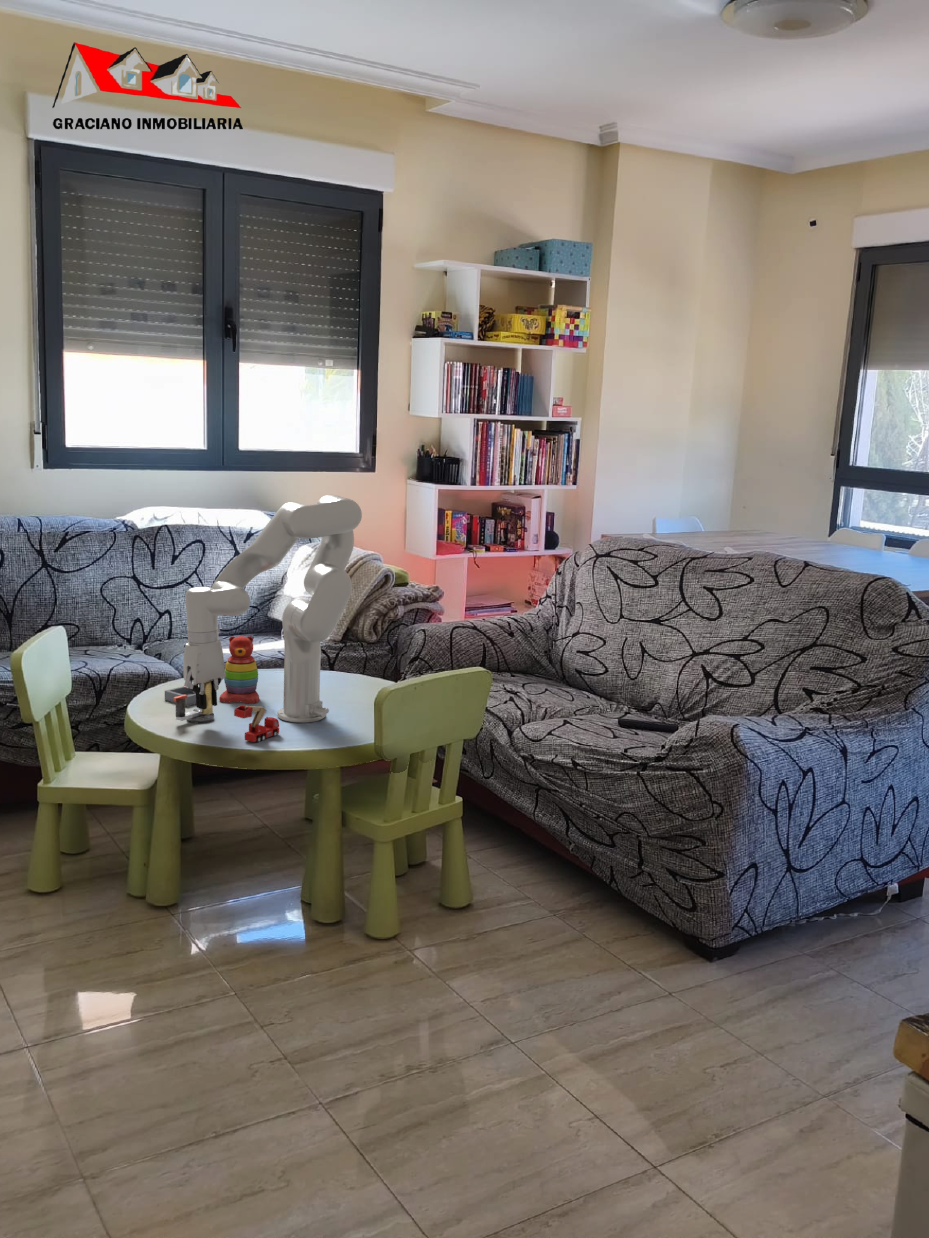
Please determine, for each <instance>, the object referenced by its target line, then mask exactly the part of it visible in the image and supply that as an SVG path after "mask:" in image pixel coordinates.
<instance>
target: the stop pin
mask: <svg viewBox="0 0 929 1238" xmlns="http://www.w3.org/2000/svg"><path fill="white" fill-rule="evenodd" d="M204 694H206V701H207V708H206V709H201V711H202V714H211V713H214V711H213V710H214V709H213V708H214V707H213V705H212V684H211V681H206V682H204Z"/></svg>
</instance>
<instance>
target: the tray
mask: <svg viewBox="0 0 929 1238" xmlns="http://www.w3.org/2000/svg"><path fill="white" fill-rule="evenodd" d="M181 695H187V698H186V699H185V707H189V706H193V705H196V693H194V692H193V691H192V690H191V689H189V688H186V687H184V685H182V686H180V687H175V688H171V689H166V690H164V700H165V701H168V702H170V703H175V704H176V701H173V698H174V697H177V696H181Z"/></svg>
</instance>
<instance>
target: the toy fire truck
mask: <svg viewBox="0 0 929 1238" xmlns="http://www.w3.org/2000/svg"><path fill="white" fill-rule="evenodd" d="M253 712H255V714H254V716H253V719H252V722H249V723H248V730H247V731H246V732H244V740H245V741H246V742H247V741H248V742H251V743H256V742H257V743H260V742H261V741H265V740H266V739H269V738H270V737H277V736H278V735H279V734H280V721H279V719H278V718H276V717H271V716H270V717H269V716H266V717H265V718H264V716H265V714H266V713H267V709H266V708H265V707H264V706H260V705H259V706H253V705H251V706H250V705H246V704H241V705H239V706H237V707H236V708H234V712H233V713H234V714H233V716H234V717H236V718H240V719H247V718H251V717H252V715H253ZM263 718H264V721H263V722H264V725H261V724H260V723H261V721H262V720H263Z"/></svg>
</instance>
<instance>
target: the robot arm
mask: <svg viewBox="0 0 929 1238" xmlns="http://www.w3.org/2000/svg"><path fill="white" fill-rule="evenodd" d="M362 515H363V512H362V509H361V507H360V505H359V503H358V502H356V501H355V500H353V499H350V498H348V497H344V496H340V495H336V494H326V495H323V496H322V497H320V499H318V501H317V502H316V504H315V503H313V504H304V503H300V502H297V501H296V502H294V501H290V502H286V503H284V504H283V505H281V506H280V508H279V509H278V510H277V511H276V512H275V514H274V515H273V516H272V517H271V519H270V520H269V521H268V522H267V524H266V525H265V527H264V528H262V531H261V532H260V533H259V534H258V536H257V537H256V538H255V539H254V541H252V543H251V544H250V545H248V547H247V548H245V549H244V550H243V551H242V552H241V553H240V554H238V555H237V556H236V557H234V558H233V559H232V560H231V561H230V562H229V563H228V564H227V565H226V566H225V568H223V570H222V571H221V573H220V574H219V575H218V576H217V577H216V578H215V580H214V582H213V583H212V585H211V587H208V586H197V587H191V588H189V589H187V590H186V593H185V610H186V611H185V612H186V629H187V642H186V643H185V646H184V650H183V651H184V652H183V663H182V664H183V665H182V666H183V670H182V671H183V679H184V684H183V686H184V687H186V688H189V689H191V690H192V691H193V692H194V693H196V704H195V705H196V709H197V708H200V709H206V708H207V701H206V694H204V682H206V681H211V684H212V705H213V706H214V707H216V706H218V693H217V691H218V690H219V687H220V684H221V682H222V681H223V680H224V678H225V677H226V673H225V658H224V652H223V651H224V650H223V645H222V642H221V639H220V638H219V634H220V633H221V629H220V628H219V619H218V616H220V617H221V616H224V617H235V616H240V615H244V614H245V613H246V612H248V610H249V608H250V605H251V597H250V595H249V593H248V592H247V590H245V588H246V587H247V585H249V583H250V582H251V581H252V580H253V579H254V578H256V576H258V575H260V574H262V573H263V572H265V571H269V570H271V569H273V568H276V567H277V566H279V565H280V564H281V562H282V561H283V560H284V558H285V557H286V556H287V555H288V553H289V551H290V550H291V549H292V548H293V547H294V546H295V544H296V543H297V542H298V540H299V539H302V540H303V539H304V540H305V539H306V540H308V539H309V540H310V539H317V538H321V540H320V544H319V547H318V549H317V552H316V553H315V555H314V557H313V559H312V561H311V564H310V566H309V568H308V569H307V572H306V574H305V576H304V578H303V586H304V589H305V591H306V592H307V593H308V594H309V595H310V596H312V597H311V598H310V600H308V599H305V598H304V599H303V598H302V599H301V598H299V599H294V600H292V601H291V602H289V603H288V604H287V605H286V606H285V608H284V610H283V613H282V619H281V620H282V621H281V623H282V631H283V632H282V633H283V641H284V653H283V654H284V655H283V656H284V658H283V661H284V664H283V667H284V668H283V707H281V708H280V709H278V711H276V713H277V718H278V719H280V720H282V721H285V722H290V723H291V722H292V723H313V722H318V721H321V720H323V719H324V718H325V717H327V714H329V712H330V711H329V710H330V709H329V708H328V707H327V708H326V707H323V700H320V699H321V698H320V697H321V696H320V695H321V694H320V693H321V690H320V689H321V659H322V657H321V656H322V651H321V649H322V648H321V647H322V646H321V643H322V642H324V641H326V640H328V638H329V637H330V636H331V635H332V633H333V632H334V631H335V629H336V627H337V625H338V623H339V621H340V619H341V617H342V615H343V614H344V611H345V609H346V608H347V605H348V602H349V600H350V598H351V595H352V591H353V589H352V588H353V583H352V580H351V577H350V575H349V574H348V572H347V571H345V570H346V568H347V565H348V563H349V561H350V558H351V556H352V553H353V549H354V545H355V536H354V535H355V534H354V529H356V528H357V527H358V526H359V525H360V523H361V521H362V518H363V516H362Z"/></svg>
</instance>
